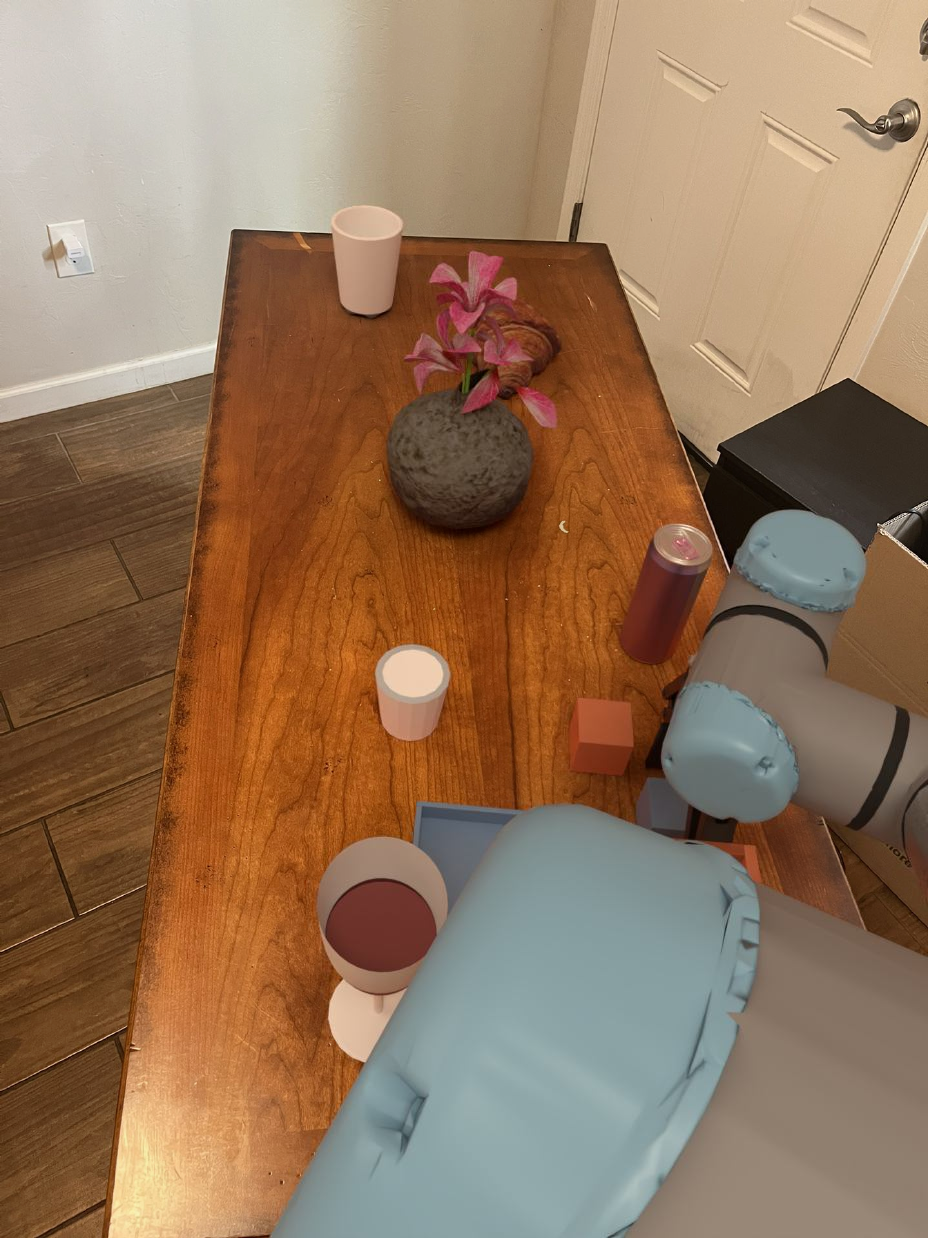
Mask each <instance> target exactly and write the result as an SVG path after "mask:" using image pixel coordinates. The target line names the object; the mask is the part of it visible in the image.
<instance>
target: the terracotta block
mask: <svg viewBox="0 0 928 1238" xmlns="http://www.w3.org/2000/svg"><path fill="white" fill-rule="evenodd" d="M576 699H577V700H576V703H575V706H574V709H573V713H572V716H571V720H570V723H569V727H568V738H569V739H568V742H569V743H568V744H569V747H568V748H569V771H570V772H575V773H584V774H585V773H587V774H598V775H607V776H609V775H610V776H619V777H623V776H624V773H625V770H626V768H627V766H628V764H629V761H630V759H631V756H632V753H633V751H634V748H635V740H634V739H635V738H634V728H633V726H634V725H633V713H632V703H631V702H630V701H619V700H611V699H609V700H608V699H598V698H587V697H577V698H576Z"/></svg>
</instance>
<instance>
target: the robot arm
mask: <svg viewBox="0 0 928 1238" xmlns="http://www.w3.org/2000/svg"><path fill="white" fill-rule="evenodd" d="M867 564H868V563H867V559H866V555H865V552H864V549H863V547H862V545H861V543H860V542H859V541H858V539H857V538H856V537H855V536H854V535H853V534H852V533H851V532H850V531H849V530H848V529H847V528H845V527H844V526H843V525H842V524H839V523H838V522H836V521H835V520H833V519H831V518H829V517H824V516H819V515H817V514H816V513H814V512H812V511H807V510H802V509H782V510H775V511H773V512H769V513H768V514H766V515H764V516H762V517H760V518H759V519H758V520H756V521H755V523H753V524H752V526H751V527H750V529H749V531H748V533H747V534H746V537H745V539H744V540H743V542H742V544H741V546H740V547H738V548H737V549H736V553H735V555H734V558H733V564H732V566H731V569H730V570H729V573H728V575H727V577H726V580H725V583H724V585H723V587H722V589H721V592H720V593H719V596H718V599H717V601H716V604H715V607H714V608H713V611H712V614H711V615H710V619H709V622H708V623H707V626H706V628H705V631H704V633H703V634H702V638H701V640H700V643H699V644H698V646H697V649H696V652H695V654H690V655H689V656H688V657H687V661H686V664H687V667H686V669H685V671H684V672H683V673H681V674H680V675H679V676H677V677H676V678H674V679H673V680H672V681H670V682H669V683H667V684H666V685H665V686H664V687H663V688H662V690H661V696H662V700H663V701H667V706H664V707H663V709H662V712H661V716H662V720H663V722H661V723H660V725H659V727H658V730H657V732H656V734H655V737H654V740H653V742H652V743H651V746H650V749H649V751H648V753H647V756H646V758H645V760H644V764H645V767H644V768H645V769H649V770H661V771H662V772H663V774H664V776H665V779H667V780H668V782H669V783H670V785H671V786H672V788H673V789H674V790H675V791H676V793H677V794H678V795H679V796H680V797H681V798H682V799H684V800H685V801H686V802H687V803H689V805H688V812H687V819H686V826H685V833H684V839H689V840H677V841H676V840H674V839H671V838H669V837H666V836H664V835H661V834H658V833H656V832H653V831H651V830H648V829H646V828H643V827H640V826H638V825H637V824H635V823H632V822H630V821H628V820H625V819H623V818H619V817H617V816H615V815H612V814H610V813H607V812H604V811H602V810H599V809H597V808H594V807H591V806H589V805H584V804H581V803H573V804H572V803H565V802H563V803H553V804H552V803H551V804H544V805H543V804H542V805H536V806H533V807H531V808H529V809H528V810H524V811H525V812H522V813H520V814H518V815H517V816H515V817H514V818H513V819H512V820H510V821H509V822H508V823H507V824H506V825H504V826H503V827H502V828H501V829H500V831H499V832H498V833H497V834H496V836H495V837H494V839H493V840H492V842H491V843H490V845H489V846H488V848H487V850H486V851H485V853H484V855H483V856H482V858H481V860H480V861H479V863H478V865H477V866H476V868H475V870H474V872H473V873H472V875H471V877H470V878H469V880H468V882H467V884H466V885H465V887H464V889H463V891H462V892H461V894H460V896H459V897H458V899H457V901H456V903H455V904H454V906H453V908H452V910H451V911H450V913H449V915H448V917H447V918H446V920H445V922H444V924H443V925H442V927H441V929H440V931H439V932H438V934H437V936H436V938H435V939H434V941H433V943H432V945H431V947H430V948H429V950H428V952H427V954H426V955H425V957H424V959H423V961H422V962H421V964H420V966H419V968H418V969H417V971H416V973H415V975H414V977H413V978H412V980H411V982H410V984H409V985H408V987H407V989H406V991H405V993H404V994H403V996H402V998H401V1000H400V1001H399V1003H398V1005H397V1007H396V1009H395V1010H394V1012H393V1014H392V1016H391V1017H390V1019H389V1021H388V1023H387V1025H386V1026H385V1028H384V1030H383V1032H382V1033H381V1035H380V1037H379V1039H378V1041H377V1042H376V1044H375V1046H374V1048H373V1050H372V1051H371V1053H370V1055H369V1057H368V1059H367V1060H366V1062H364V1064H363V1065H362V1068H361V1069H360V1071H359V1073H358V1075H357V1076H356V1078H355V1080H354V1082H353V1084H352V1085H351V1087H350V1089H349V1090H348V1092H347V1094H346V1095H345V1098H344V1100H343V1102H342V1103H341V1105H340V1107H339V1109H338V1110H337V1112H336V1114H335V1116H334V1118H333V1120H332V1121H331V1123H330V1125H329V1126H328V1129H327V1130H326V1133H325V1134H324V1136H323V1137H322V1140H321V1142H320V1143H319V1145H318V1147H317V1149H316V1151H315V1152H314V1153H313V1155H312V1157H311V1159H310V1162H309V1163H308V1165H307V1167H306V1168H305V1171H304V1172H303V1174H302V1176H301V1178H300V1179H299V1182H298V1183H297V1185H296V1187H295V1189H294V1190H293V1193H292V1194H291V1196H290V1198H289V1199H288V1201H287V1204H286V1205H285V1207H284V1209H283V1211H282V1212H281V1214H280V1216H279V1218H278V1219H277V1222H276V1223H275V1226H274V1227H273V1229H272V1231H271V1233H270V1235H269V1237H268V1238H928V956H926V955H923V954H921V953H919V952H917V951H915V950H912V949H910V948H907V947H905V946H902V945H901V944H898V943H896V942H893V941H891V940H889V939H887V938H884V937H882V936H880V935H877V934H876V933H873V932H870V931H868V930H867V929H864V928H861V927H859V926H857V925H854V924H853V923H851V922H848V921H846V920H843V919H842V918H839V917H838V916H837V917H836V916H834V915H832V914H830V913H828V912H826V911H823V910H820V909H818V908H817V907H814V906H812V905H810V904H807V903H805V902H803V901H801V900H798V899H797V898H794V897H791V896H789V895H787V894H785V893H783V892H781V891H778V890H776V889H774V888H772V887H769V886H767V885H765V884H763V883H762V882H761V883H762V884H761V883H758V882H756V881H754V880H752V878H751V876H750V874H749V873H748V871H747V869H746V868H745V867H744V866H743V865H742V864H741V863H740V862H739V861H737V860H736V859H735V858H734V857H732V856H731V855H730V854H728V853H726V852H724V851H722V850H720V849H718V848H716V847H715V846H711V845H708V844H705V843H702V842H699V841H692V840H700V841H711V842H722V843H733V842H734V838H735V835H736V829H737V825H738V823H739V822H740V823H741V824H759V823H763V822H766V821H770V820H772V819H773V818H775V817H777V816H778V815H780V814H781V813H782V812H783V811H784V810H785V809H786V807H787V806H788V805H789V804H790V805H794V806H796V807H798V808H800V809H803V810H805V811H808V812H810V813H812V814H814V815H816V816H819V817H822V818H823V819H826V820H828V821H831V822H833V823H835V824H837V825H840V826H843V827H845V828H848V829H851V830H852V831H854V832H857V833H859V834H861V835H864V836H866V837H868V838H871V839H873V840H875V841H878V842H880V843H882V844H885V845H887V846H889V847H891V848H894V849H896V850H898V851H901V852H903V853H905V855H906V856H905V857H906V859H907V861H908V863H909V864H910V866H911V868H912V871H913V874H914V876H915V878H916V879H915V880H916V881H917V884H918V886H919V889H920V891H921V894H922V896H923V899H924V901H925V904H926V907H927V908H928V718H927V717H925V716H922V715H920V714H917V713H915V712H912V711H909V710H908V709H906V708H903V707H901V706H900V705H899V706H898V705H895V704H893V703H890V702H888V701H886V700H883V699H881V698H878V697H877V696H874V695H871V694H868V693H866V692H863V691H861V690H858V689H856V688H853V687H851V686H849V685H846V684H845V683H842V682H838V681H836V680H834V679H830V678H828V677H826V674H827V670H828V666H829V661H830V657H831V653H832V650H833V647H834V642H835V639H836V635H837V633H838V630H839V628H840V625H841V622H842V620H843V619H844V616H845V615H846V613H847V611H848V610H849V609H851V608H853V606H854V604H855V603H856V600H857V593H858V592H859V589H860V587H861V585H862V584H863V581H864V579H865V577H866V573H867Z"/></svg>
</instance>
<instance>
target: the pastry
mask: <svg viewBox="0 0 928 1238" xmlns="http://www.w3.org/2000/svg"><path fill="white" fill-rule="evenodd" d="M510 302H511V304H512V306H513V308H514V309H515V311H516V313H517V315H518V317H519V321H520V323H519V322H518V321H516V320H515V319H514V318H513V317H511V316H510V315H508V314H506V313H504V312H501V311H491V312H490V313H489V314H488V315H489V316H491V317H493V318H494V319H495V320H496V321H497V323H498V325H499V327H500V328H501V330H502V333H503V335H504V346H503V347H504V348H505V347H506V345H507V343H508V342H509V340H510V339H511V338H512V337H514V338H515V339H516V341H517V342H518V344H519V346H520V347H521V350H522V352H523V353H524V354H525V355H527V356H529V357H530V358H532V359H533V360H534V361H532V360H523V361H518V362H513V363H512V364H511V365H507V366H503V365H501V366H498V373H499V382H500V387H499V391H498V394H497V396H498V397H500V398H501V399H510V397H511V395H512V394H518V392H517V390H516V386H519V387H527V388H528V386H529V385H530V383H531V381H532V376H534V375H536V374H537V373H540V372H541V371H543V370H544V369H545V367H546V365H548V364H549V363H550V362H551V360H552V358H554V357H556V356H557V355H558V354H559V353H560V352H561V351H562V349H563V343H562V339H561V336H560V333H559V332H558V330H557V327H556V326H554V324H552V322H551V321H550V320H548V319H546V318H545V317H544V316H543V314H542V313H541V311H540V310H539V309H538V308H536V307H534V306H533V305H532V304H529V303H528V302H526V301H525V300H522V299H519V298H516V299H515V301H513V300H510ZM479 330H485V331H486V332H488V333H489V334H490V335H491V336H492V338H493V339H494V341H495V343H496V344H498V343H497V339H496V335H495V333H494V331H493V329H492V327H491V326H490V324H489V323H488V321H487V320H486V319H485V317H484V318H483V319H482V320H481V321H480V323H479V324H478V325H477V326H476V328H475V335H474V340H475V341H476V343H477V344H478V346H479V347H480V348H481V349H482V351H481V352H473V354H472V356H473V358H472V363H473V364H474V365H475V366H476V367H477V369H478V371H481V370H483V369H491V367H492V366H493V365H494V364H495V363H491V362H486V361H485V360H484V346H485V343H484V342H482V341H479V340H477V339H475V336H476V334H477V332H478V331H479ZM470 331H471V329H470V327H468V328H467V329H466V331H465V333H468V334H469V335H470Z"/></svg>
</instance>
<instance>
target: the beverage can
mask: <svg viewBox="0 0 928 1238" xmlns="http://www.w3.org/2000/svg"><path fill="white" fill-rule="evenodd" d="M713 552H714V548H713V544H712V541H711V540H710V538H709V536H707V534H705V532H703V531H702V530H700V529H698V528H697V527H694V526H692V525H689V524H685V523H677V522H675V523H668V524H665V525H663V526H661V527H659V528H658V529H657V530H656V531H655V533H654V535H653V537H652V538H651V539H650V541H649V544H648V547H647V550H646V553H645V555H644V558H643V561H642V565H641V568H640V570H639V571H640V572H639V575H638V578H637V581H636V583H635V587H634V589H633V592H632V596H631V599H630V602H629V605H628V609H627V611H626V615H625V618H624V621H623V624H622V627H621V630H620V632H619V633H620V634H619V640H620V643H621V646H622V648H623V650H624V651H625V653H626V654H627V655H628V656H629V657H631V658H632V659H633V660H634V661H637V662H639V663H642V664H647V665H656V664H661V663H663V662H666V661H667V660H669V659H671V658H672V657H673V656H674V654H675V652H676V651H677V648H678V645H679V642H680V640H681V638H682V635H683V634H684V633H683V632H684V630H685V628H686V625H687V623H688V620H689V618H690V616H691V613H692V610H693V608H694V606H695V603H696V600H697V598H698V595H699V593H700V590H701V589H702V585H703V583H704V581H705V579H706V576H707V573H708V571H709V568H710V566H711V563H712V559H713V557H712V555H713Z"/></svg>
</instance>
